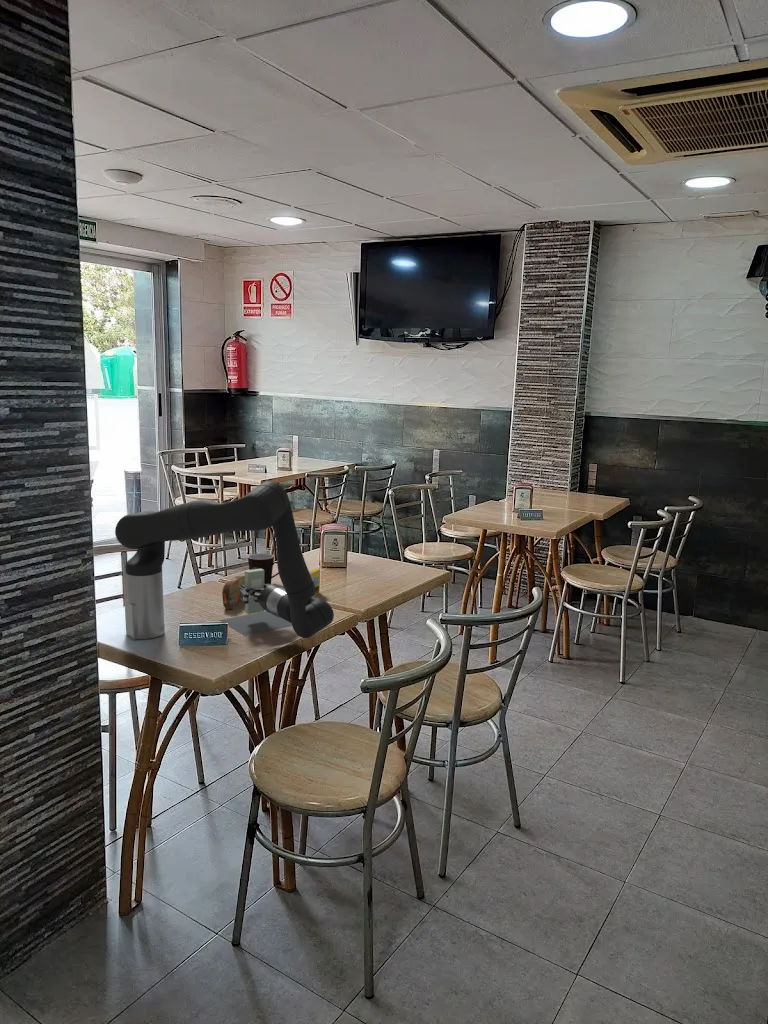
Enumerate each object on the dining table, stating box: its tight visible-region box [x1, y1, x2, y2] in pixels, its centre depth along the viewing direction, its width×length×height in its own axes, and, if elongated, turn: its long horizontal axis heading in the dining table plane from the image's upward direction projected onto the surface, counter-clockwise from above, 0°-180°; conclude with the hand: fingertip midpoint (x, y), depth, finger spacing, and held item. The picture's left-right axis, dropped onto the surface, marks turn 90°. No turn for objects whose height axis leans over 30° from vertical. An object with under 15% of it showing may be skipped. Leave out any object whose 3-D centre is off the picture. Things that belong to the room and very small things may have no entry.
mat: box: [218, 610, 292, 637], centre depth 208 cm, size 26×16×1 cm, turn 127°
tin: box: [221, 575, 245, 610], centre depth 222 cm, size 15×3×8 cm, turn 168°
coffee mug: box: [247, 553, 279, 585], centre depth 243 cm, size 12×9×10 cm
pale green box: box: [244, 569, 265, 615], centre depth 205 cm, size 5×2×12 cm, turn 127°
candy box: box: [309, 568, 321, 598], centre depth 229 cm, size 16×2×8 cm, turn 161°
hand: (250, 586), depth 207 cm, fingers closed on pale green box, 5 cm apart
